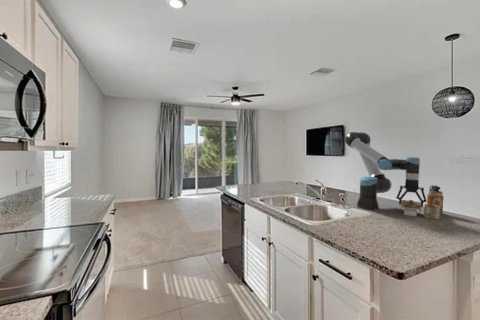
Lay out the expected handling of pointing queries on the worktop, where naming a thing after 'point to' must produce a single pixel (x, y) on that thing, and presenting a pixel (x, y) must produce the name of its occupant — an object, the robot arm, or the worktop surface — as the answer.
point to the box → (432, 211)
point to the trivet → (410, 211)
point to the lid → (411, 204)
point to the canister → (435, 197)
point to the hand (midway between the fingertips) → (410, 210)
